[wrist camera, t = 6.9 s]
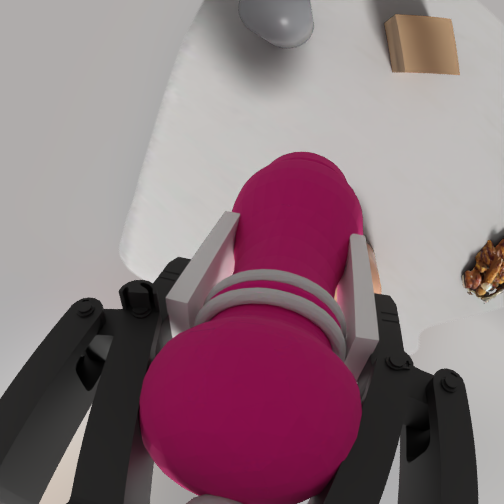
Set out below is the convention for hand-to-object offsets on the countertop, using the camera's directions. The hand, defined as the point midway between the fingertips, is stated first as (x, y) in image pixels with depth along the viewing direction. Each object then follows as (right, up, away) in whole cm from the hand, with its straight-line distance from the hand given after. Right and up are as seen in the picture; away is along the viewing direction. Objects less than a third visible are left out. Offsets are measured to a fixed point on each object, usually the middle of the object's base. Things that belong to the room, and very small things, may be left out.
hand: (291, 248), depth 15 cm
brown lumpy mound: (+29, -1, +15) cm, 32 cm away
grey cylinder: (+1, +21, +8) cm, 22 cm away
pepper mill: (+2, +4, +6) cm, 7 cm away
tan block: (+13, +19, +6) cm, 24 cm away
